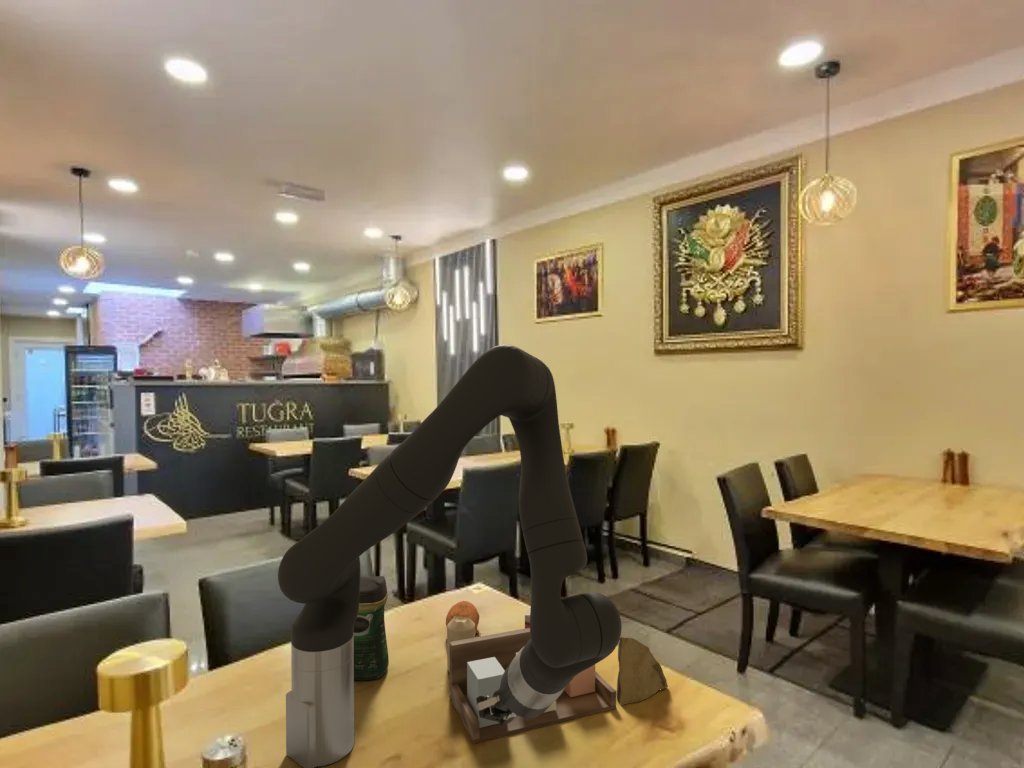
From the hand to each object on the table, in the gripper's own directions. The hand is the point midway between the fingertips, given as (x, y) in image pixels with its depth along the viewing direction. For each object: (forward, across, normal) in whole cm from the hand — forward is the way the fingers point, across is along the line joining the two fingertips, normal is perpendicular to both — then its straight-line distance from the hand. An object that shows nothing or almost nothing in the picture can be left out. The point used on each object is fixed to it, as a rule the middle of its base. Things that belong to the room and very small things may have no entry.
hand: (503, 717), depth 90 cm
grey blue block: (+9, 0, -2) cm, 9 cm away
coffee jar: (+26, +17, -19) cm, 36 cm away
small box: (+23, -18, -16) cm, 34 cm away
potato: (+32, -6, -25) cm, 41 cm away
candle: (+22, -1, -15) cm, 26 cm away
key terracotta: (+11, -18, -4) cm, 21 cm away
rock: (+7, -29, 0) cm, 30 cm away
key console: (+10, -9, -3) cm, 14 cm away
